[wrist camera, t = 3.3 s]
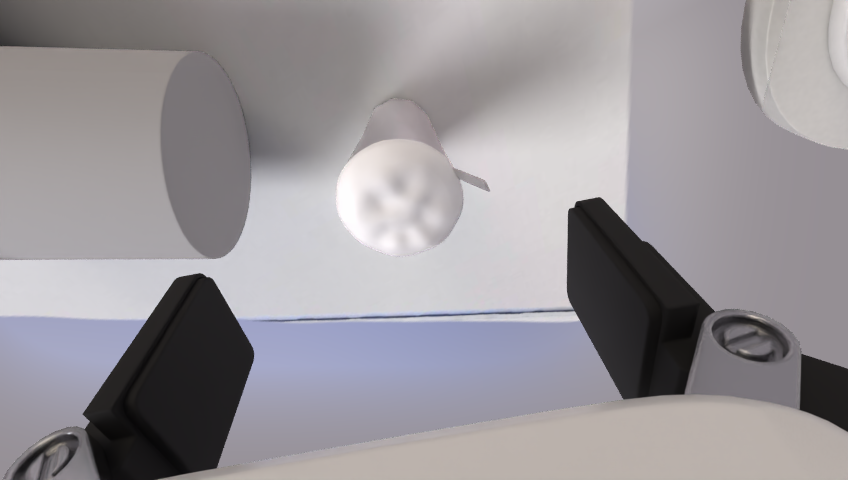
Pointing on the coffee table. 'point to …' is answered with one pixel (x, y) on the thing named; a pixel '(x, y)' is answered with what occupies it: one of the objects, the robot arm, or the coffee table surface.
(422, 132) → the milkshake
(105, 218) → the elbow connector
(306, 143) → the coffee table surface
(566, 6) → the coffee table surface
